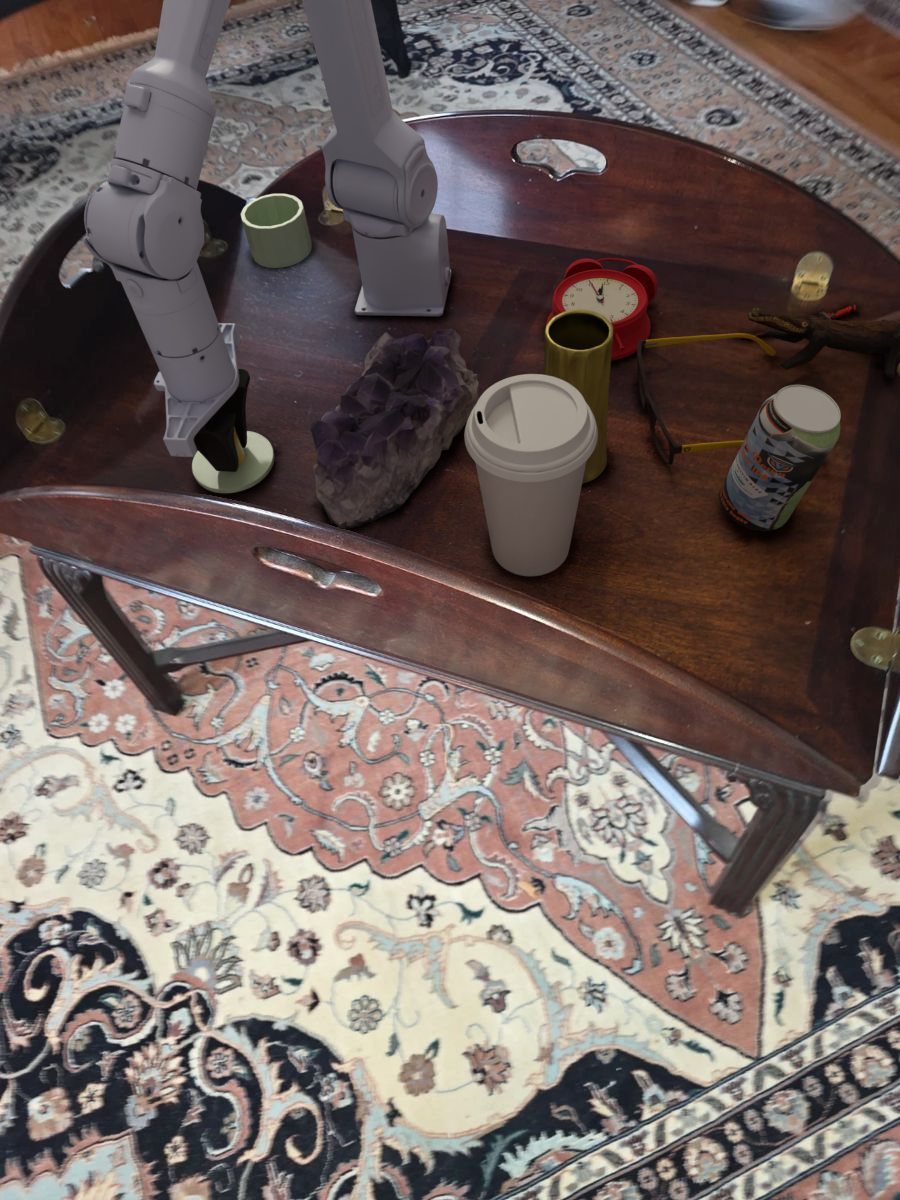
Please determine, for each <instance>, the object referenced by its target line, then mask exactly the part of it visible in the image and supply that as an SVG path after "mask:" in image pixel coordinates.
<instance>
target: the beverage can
mask: <svg viewBox="0 0 900 1200" xmlns="http://www.w3.org/2000/svg"><path fill="white" fill-rule="evenodd" d="M841 416H842V415H841V410H840V407H839V405H838V404H837V402H836V401H835V400H834V399H833V398H832V397H831V396H830V395H829V394H827V393H826V392H825V391H823V390H821V389H818V388H816V387H814V386H810V385H805V384H790V385H787V386H784V387H782V388H781V389H779V390H778V391H777V392H776V393H774V394H773V395H771V396H770V397H768V398H767V399H766V400H764V402H763V403H762V404H761V407H760V408H759V410H758V412H757V414H756V416H755V417H754V420H753V422H752V424H751V426H750V428H749V430H748V432H747V434H746V436H745V438H744V439H743V440H744V442H743V444H742V446H740V447H739V450H738V452H737V454H736V456H735V458H734V460H733V462H732V464H731V465H730V468H729V470H728V472H727V475H726V476H725V478H724V480H723V482H722V484H721V486H720V488H719V491H718V501H719V504H720V507H721V509H722V511H723V512H724V513H725V514H726V516H728V518H730V519H731V521H733V522H735V523H737V524H738V525H740V526H741V527H744V528H747V529H749V530H753V531H758V532H768V531H773V530H774V531H775V530H777V529H779V528H781V527H783V526H784V525H785V524H786V523H787V522H788V521H789V519H790V518H791V516H792V515H793V513H794V511H795V509H796V508H797V507H798V505H799V503H800V502H801V500H802V498H803V497H804V495H805V493H806V492H807V490H808V488H810V485H811V484H812V482H813V480H814V479H815V477H816V476H817V474H818V473H819V471H820V470H821V468H822V466H823V464H824V463H825V461H826V459H827V458H828V457H829V455H830V453H831V452H832V451H833V448H834V447H835V445H836V443H837V442H838V440H839V437H840V435H841V422H840V421H841Z"/></svg>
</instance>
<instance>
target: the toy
mask: <svg viewBox="0 0 900 1200" xmlns="http://www.w3.org/2000/svg"><path fill="white" fill-rule="evenodd" d="M747 320H748V321H750V322H754V323H756V324H759V325H763V326H765V327H768V328H769V329H765V330H764V331H765V332H764V334H765V336H767V337H770V338H774V339H778V340H781V341H783V342H786V343H792V344H793V343H794V344H796V343H799V342H801V341H803V340H804V339H805V340H807V341H808V343H807V344H806V345H805V346H804V347H803V348H802V349H801V350H799V351H798V352H797V353H795V354H794V355H793V356H791V357H789V358H787V359H786V360H785V361H783V362H781V363H780V365H779V366H780V368H781V369H783V370H789V369H793V368H797V367H801V366H804V365H805V364H807V363H808V362H809V363H810V362H812V361H813V360H814V359H815V357H817V355H818V354H819V353H821V351H822V349H824V348H825V347H828V348H830V349H833V350H839V351H844V352H853V353H861V354H862V353H863V354H871V355H873V354H880V353H881V354H884V365H883V370H884V374H885V377H886V378H890V379H894V377H895V374H896V362H897V358H898V355H899V353H900V319H889V320H888V319H881V320H850V321H846V320H839V319H834V320H826V319H820V318H818V316H815V315H812V314H809V315H806V313H803V312H801V313H797V314H791V313H786V312H783V311H778V310H772V309H764V308H763V309H762V308H760V307H753V308H751V311H750V312H748V314H747ZM775 329H776V330H775Z"/></svg>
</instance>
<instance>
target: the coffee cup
mask: <svg viewBox="0 0 900 1200" xmlns="http://www.w3.org/2000/svg"><path fill="white" fill-rule="evenodd" d="M478 398H479V400H478V402H477V404H476V405H475V407H474V408H473V410H472V411H471V414H470V415H469V418H468V420H467V422H466V423H465V427H464V434H463V436H464V445H465V448H466V451H467V452H468V454H469V456H470V457H471V458H472V460H473V461H474V463H475V468H476V473H477V478H478V483H479V487H480V493H481V499H482V504H483V509H484V510H483V511H484V514H485V519H486V524H487V531H488V534H489V535H488V536H489V540H490V545H491V546H490V547H491V551H492V555H493V557H494V559H495V561H496V562H497V564H499V565H500V567H502V568H503V569H504V570H506V571H507V572H510V573H512V574H514V575H517V576H523V577H539V576H543V575H546V574H549V573H551V572H553V571H555V570H556V569H558V568H560V566H561V565H563V563H564V562H565V561H566V559H567V557H568V556H569V551H570V546H571V542H572V538H573V537H572V536H573V532H574V526H575V523H576V522H575V521H576V516H577V511H578V507H579V502H580V501H579V500H580V495H581V491H582V486H583V484H582V481H583V476H584V471H585V466H586V461H587V459H588V458H589V457H590V455H591V454H592V452H593V451H594V449H595V446H596V443H597V438H598V430H597V425H596V421H595V418H594V415H593V413H592V411H591V409H590V407H589V406H588V404H587V403H586V402H585V400H584V398H583V396H582V395H581V393H580V392H579V391H578V390H577V389H576V388H575V387H573V386H572V385H571V384H569V383H567V382H565V381H563V380H561V379H559V378H556V377H552V376H548V375H544V374H542V373H541V374H539V373H525V374H518V375H513V376H510V377H507V378H504V379H502V380H499V381H497V382H495V383H494V384H492V385H491V386H489V387H488V388H487V389H486V390H484V392H483V393H482V394H481V395H480V396H479V397H478Z"/></svg>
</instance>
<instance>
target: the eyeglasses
mask: <svg viewBox="0 0 900 1200" xmlns="http://www.w3.org/2000/svg"><path fill="white" fill-rule="evenodd" d="M750 334H751V333H744V332H742V333H741V332H736V333H720V334H703V335H690V336H676V337H675V336H674V337H661V338H651V339H647V340H639V342H638V348H637V351H636V359H637V375H638V377H637V378H638V392H639V397H640V398H639V399H640V403H641V405H642V409H643V410H644V409H647V412H648V422H649V429H650V433H651V437H652V440H653V443H654V445H655V448H656V450H657V453H658V455H659V456H660V457H661V459H662V460H663V461H664V463H665V464H666V465H668V466H670V465H673V463H674V459H675V455H678V454H679V455H680V454H688V453H695V452H705V451H709V450H717V449H726V448H736V447H741V446H742V444H743V442H744V440H745V439H743V440H728V441H727V440H726V441H712V442H702V443H700V442H699V443H691V444H681V445H680V444H678V443H676V441H675V440H674V438H673V437H672V435H671V433H669V431H668V429H667V427H666V425H665V423H664V422H663V419H662V417H661V414H660V412H659V410H658V408H657V405H656V403H655V401H654V398H653V397H651V395H650V388H649V382H648V378H647V374H646V371H645V366H644V363H643V357H642V350H643V349H649V348H654V347H655V348H656V347H664V346H665V347H666V346H669V345H677V344H678V345H679V344H687V343H697V342H707V341H717V340H727V339H735V338H739V339H740V338H742V339H745V338H748V339H747V340H751V341H754V342H755V343H757V344H758V345H759V347H761V349H762V350H763V351H764V352H765V353H766V354H767V355H768V356H771V357H773V356H776V353H777V352H776V350H775V348H774V347H772V346H770V345H769V344H768V343H766V342H765V341H764V340H762V339H761V338H760V337H756V336H753V335H750ZM657 423H658V425H659V427H660V429H661V431H662V433H663V435H664V437H665V439H666V441H667V443H668V444H667V445H668V457H667V456H666V455H665V453H664V452H663V449H662V448H661V445H660V442H659V440H658V437H657V433H656V425H657Z"/></svg>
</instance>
